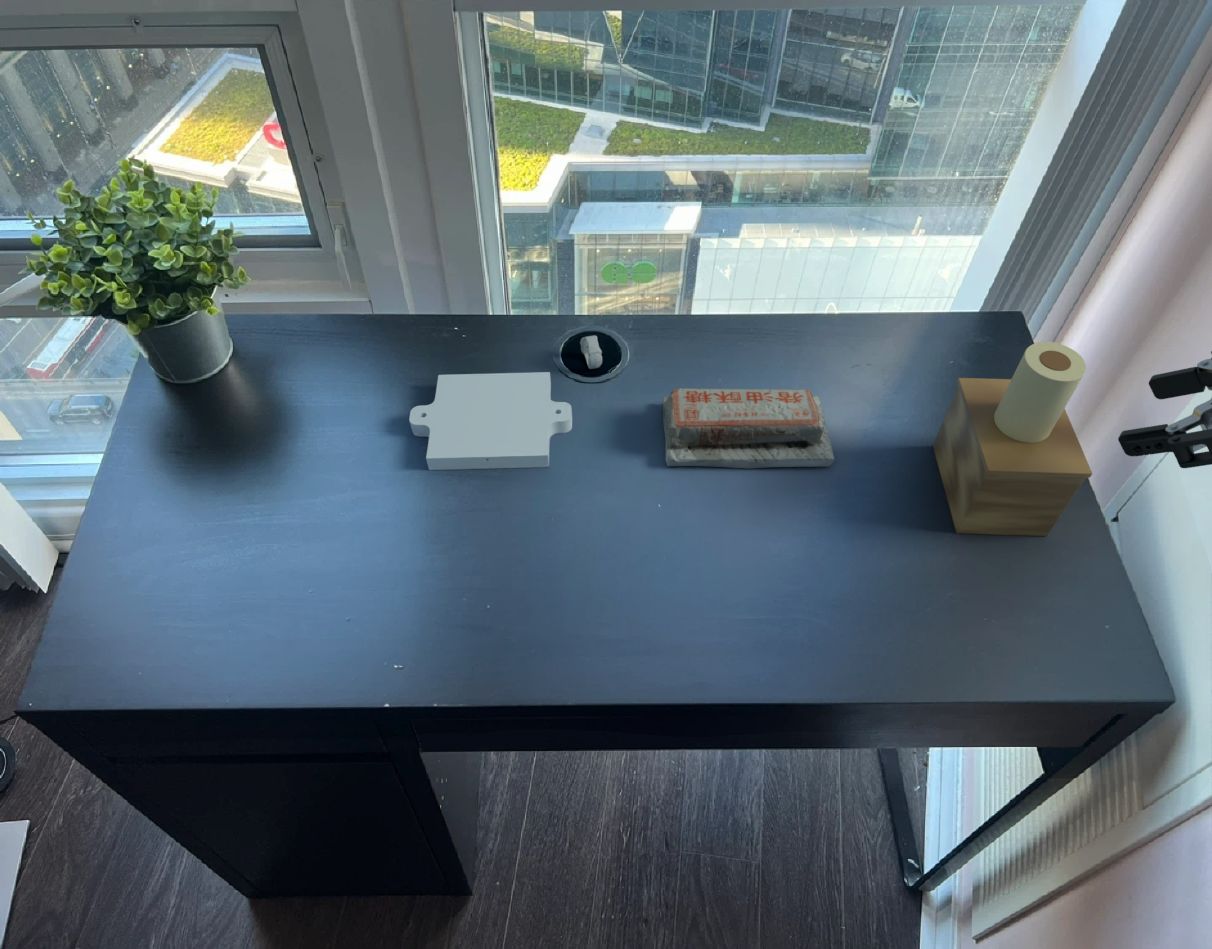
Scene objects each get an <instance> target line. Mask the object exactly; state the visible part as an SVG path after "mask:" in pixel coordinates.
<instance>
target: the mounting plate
mask: <svg viewBox="0 0 1212 949" xmlns="http://www.w3.org/2000/svg"><path fill="white" fill-rule="evenodd" d="M551 381H552V379H551V372H550V371H541V372H537V371H536V372H501V373H500V372H499V373H495V372H493V373H466V374H465V373H460V374H459V373H458V374H438V376H437V382H436V388H435V395H434V400H433V402H431V403H430V404H425V405H424V404H423V405H416V406H414V407H413V408H412V409H411V410H410V413H409V419H408V421H409V425H410V428H411V432H412V434H413V435H414V436H415V437H419V438H428V442H427V443H428V444H427V450H426V455H425V460H426V463H427V464H426V465H427V467H428V471H444V470H445V471H451V470H452V471H453V470H454V471H455V470H489V469H490V470H491V469H524V468H525V469H526V468H527V469H528V468H529V469H530V468H531V469H532V468H549V467H550V444H551V443H550V441H551V438H552V436H554V435H556V434H557V435H558V434H566V433H570V432H571V430H572V429H573V410H572V408H573V407H572V405H571V404H570V403H569V402H565V401H554V400H552V398H551V396H552V395H551V394H552V382H551Z"/></svg>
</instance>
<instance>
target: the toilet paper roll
mask: <svg viewBox="0 0 1212 949" xmlns="http://www.w3.org/2000/svg"><path fill="white" fill-rule="evenodd" d="M1084 359H1085V358H1084V357H1082V355H1080V353H1078V352H1077V351H1076V350H1074V349H1073V348H1071V347H1069V346H1067V345H1064V344H1061V343H1058V342H1053V341H1040V342H1035V343H1032V344H1030V345H1029V346H1028V347H1026V348H1025V351H1024V352H1023V355H1022V357H1021V359H1020V361H1019V364H1017V367H1016V369H1015V371H1014V373H1013V375H1012V377H1011V378H1010V379H1011V381H1010V383H1009V385H1008V387H1007V389H1006V391H1005V393H1004V395H1003V397H1002V399H1001V401H1000V404H999V406H998V408H997V410H996V412H995V414H994V421H995V424H996V425H997V427H998V428H999V430H1000V431H1001V432H1003V433H1004V434H1005V435H1007V436H1008V437H1010V438H1012V439H1014V440H1017V441H1021V442H1026V443H1035V442H1040V441H1042V440H1044V439H1046V438H1047V437H1048V436H1049V434H1050V433H1051V431H1052V429H1053V427H1054V426H1055V424H1056V422H1057V421H1058V419H1059V417H1060V415H1061V414H1062V412H1063V410H1064V408H1065V409H1066V407H1067V405H1068V403H1069V402H1070V399H1071V398H1072V397H1073V395H1074V393H1075V392H1076V390H1077V388H1078V386H1079V385H1080V383H1081V381H1082V379H1083V378H1084V376H1085V374H1086V373H1087V372H1086V371H1087V364H1086V361H1085V360H1084Z"/></svg>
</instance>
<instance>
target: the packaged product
mask: <svg viewBox="0 0 1212 949" xmlns="http://www.w3.org/2000/svg"><path fill="white" fill-rule="evenodd" d="M820 400H821V399H820V395H818V396H814V394H813V393H812V392H811V390H809V389H793V388H791V389H785V388H784V389H783V388H782V389H781V388H764V389H763V388H747V389H746V388H685V387H684V388H683V387H682V388H681V387H680V388H674V389H672V390H671V391H670V394H669V396H663V397H662V419H663V420H662V421H663V431H664V440H665V462H666V465H667V467H711V468H712V467H713V468H733V469H734V468H735V469H764V468H765V469H766V468H796V467H797V468H802V467H803V468H807V467H809V468H811V467H812V468H813V467H815V468H817V467H831V466H832V464H833V462H834V461H835V455H834V451H833V447H832V444H831V439H830V435H829V432H828V429H827V424H826V420H825V415H824V411H823V407H822V403H821V401H820Z"/></svg>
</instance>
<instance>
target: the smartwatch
mask: <svg viewBox="0 0 1212 949" xmlns="http://www.w3.org/2000/svg"><path fill="white" fill-rule="evenodd" d="M598 339H599V338H598V336H597V335H588V336H584V337H581V339H580V341H579V345H580V351H581V353H582V354H583V355H584V358H585V361H586V364H587V367H588V369H589V370H594V369H598V368H600V367H601V365H602V364H603V356H602V354H603V350H602V349H601V347H600V344H599V341H598Z"/></svg>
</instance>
